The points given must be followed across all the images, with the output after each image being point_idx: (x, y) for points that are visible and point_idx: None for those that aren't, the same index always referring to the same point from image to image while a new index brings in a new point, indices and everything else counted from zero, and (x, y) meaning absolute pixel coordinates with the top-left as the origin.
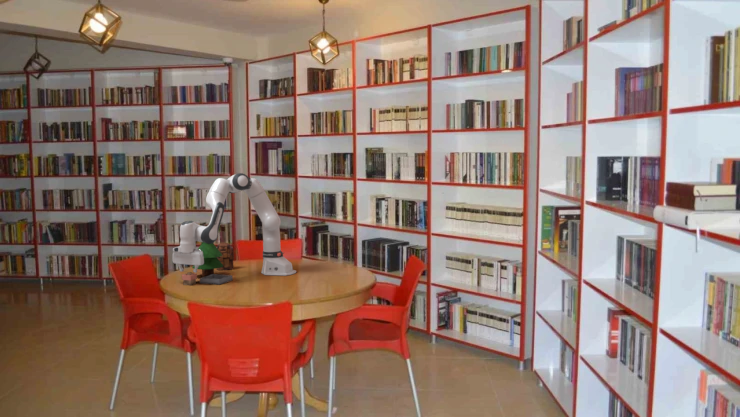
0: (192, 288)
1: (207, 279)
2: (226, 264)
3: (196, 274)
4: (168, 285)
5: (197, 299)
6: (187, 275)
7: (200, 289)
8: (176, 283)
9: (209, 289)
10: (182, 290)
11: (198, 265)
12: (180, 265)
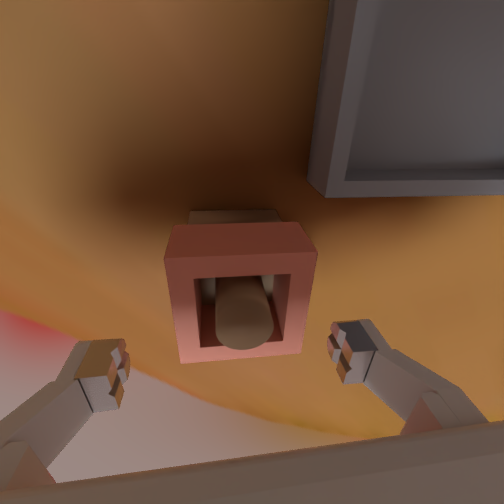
0: None
1: (423, 194)
2: None
3: (312, 251)
4: (92, 332)
5: None
6: (260, 355)
7: (400, 336)
8: (80, 257)
9: (458, 319)
10: (302, 384)
11: (474, 410)
12: (47, 471)
